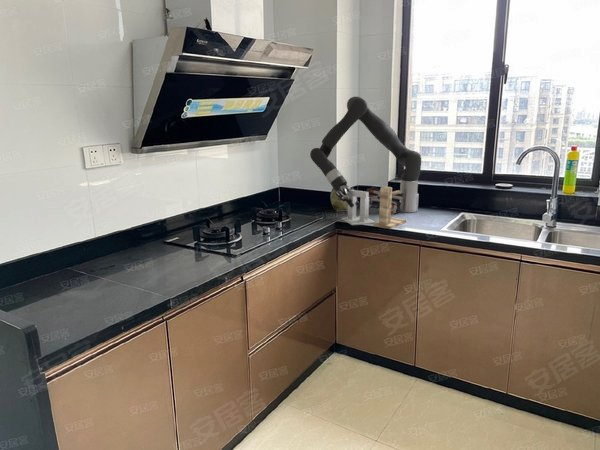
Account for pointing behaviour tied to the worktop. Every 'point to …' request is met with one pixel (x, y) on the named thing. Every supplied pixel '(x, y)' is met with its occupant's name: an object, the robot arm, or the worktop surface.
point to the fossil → (338, 202)
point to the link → (363, 205)
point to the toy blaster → (375, 196)
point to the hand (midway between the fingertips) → (355, 205)
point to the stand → (387, 209)
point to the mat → (357, 221)
